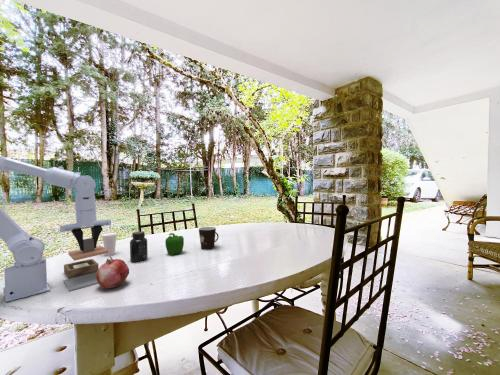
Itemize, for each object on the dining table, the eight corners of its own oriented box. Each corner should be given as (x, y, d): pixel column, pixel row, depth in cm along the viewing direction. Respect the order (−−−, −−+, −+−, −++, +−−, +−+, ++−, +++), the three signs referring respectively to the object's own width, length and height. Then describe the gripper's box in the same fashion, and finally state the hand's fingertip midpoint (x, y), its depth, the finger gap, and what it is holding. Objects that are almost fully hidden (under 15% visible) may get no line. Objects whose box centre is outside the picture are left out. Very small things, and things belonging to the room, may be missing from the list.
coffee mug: (197, 247, 118) (196, 227, 118) (213, 244, 122) (213, 226, 122) (202, 253, 108) (202, 231, 107) (220, 250, 111) (219, 230, 111)
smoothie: (110, 257, 104) (109, 226, 104) (98, 256, 105) (97, 226, 105) (121, 252, 110) (120, 223, 110) (109, 252, 111) (108, 223, 111)
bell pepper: (181, 249, 114) (180, 229, 113) (186, 254, 107) (185, 232, 106) (163, 252, 109) (162, 232, 109) (167, 257, 102) (167, 235, 102)
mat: (69, 291, 70) (69, 290, 70) (63, 281, 78) (63, 280, 78) (113, 279, 79) (113, 278, 79) (103, 271, 87) (103, 270, 87)
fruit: (126, 277, 81) (126, 249, 80) (131, 286, 73) (131, 255, 73) (95, 284, 75) (94, 254, 75) (97, 295, 68) (96, 262, 67)
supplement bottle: (126, 261, 98) (125, 233, 97) (140, 256, 104) (140, 230, 103) (137, 263, 94) (136, 234, 94) (151, 258, 100) (150, 231, 100)
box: (68, 279, 80) (68, 270, 80) (64, 272, 86) (63, 264, 86) (98, 271, 86) (98, 263, 86) (92, 266, 93) (92, 258, 92)
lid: (74, 260, 74) (73, 245, 73) (68, 254, 80) (67, 240, 80) (108, 252, 81) (107, 238, 80) (100, 247, 87) (99, 234, 87)
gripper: (106, 207, 88) (108, 242, 88) (57, 211, 77) (59, 251, 77) (112, 208, 83) (114, 245, 83) (60, 213, 72) (63, 256, 73)
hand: (88, 248), depth 80 cm, fingers closed on lid, 3 cm apart
